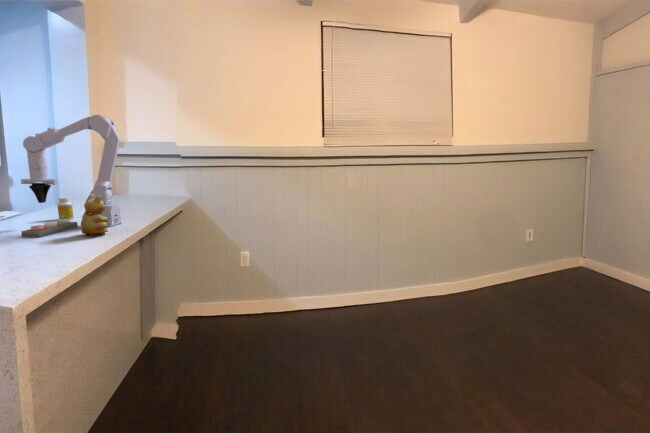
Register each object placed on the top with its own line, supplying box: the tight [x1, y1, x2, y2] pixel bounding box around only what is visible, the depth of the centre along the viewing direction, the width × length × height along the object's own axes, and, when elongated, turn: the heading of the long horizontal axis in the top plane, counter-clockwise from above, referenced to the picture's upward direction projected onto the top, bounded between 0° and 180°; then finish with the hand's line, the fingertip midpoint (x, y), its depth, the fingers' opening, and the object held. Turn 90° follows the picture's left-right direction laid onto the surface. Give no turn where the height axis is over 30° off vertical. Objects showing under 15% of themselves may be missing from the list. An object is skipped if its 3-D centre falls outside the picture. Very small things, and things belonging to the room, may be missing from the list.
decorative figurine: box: [80, 194, 109, 237], centre depth 144 cm, size 10×8×15 cm
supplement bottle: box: [56, 196, 74, 221], centre depth 174 cm, size 5×5×10 cm
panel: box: [20, 221, 79, 238], centre depth 151 cm, size 7×19×2 cm, turn 173°
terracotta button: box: [30, 224, 44, 231], centre depth 145 cm, size 4×4×2 cm
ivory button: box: [43, 221, 57, 228], centre depth 151 cm, size 4×4×2 cm
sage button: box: [56, 219, 70, 225], centre depth 156 cm, size 4×4×2 cm
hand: (42, 202), depth 157 cm, fingers closed
